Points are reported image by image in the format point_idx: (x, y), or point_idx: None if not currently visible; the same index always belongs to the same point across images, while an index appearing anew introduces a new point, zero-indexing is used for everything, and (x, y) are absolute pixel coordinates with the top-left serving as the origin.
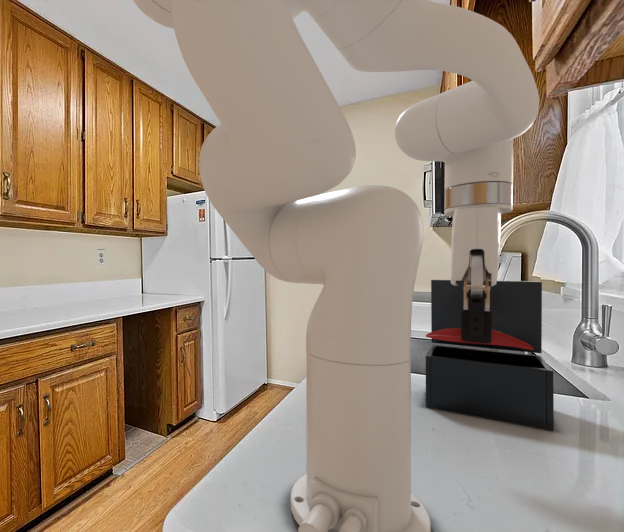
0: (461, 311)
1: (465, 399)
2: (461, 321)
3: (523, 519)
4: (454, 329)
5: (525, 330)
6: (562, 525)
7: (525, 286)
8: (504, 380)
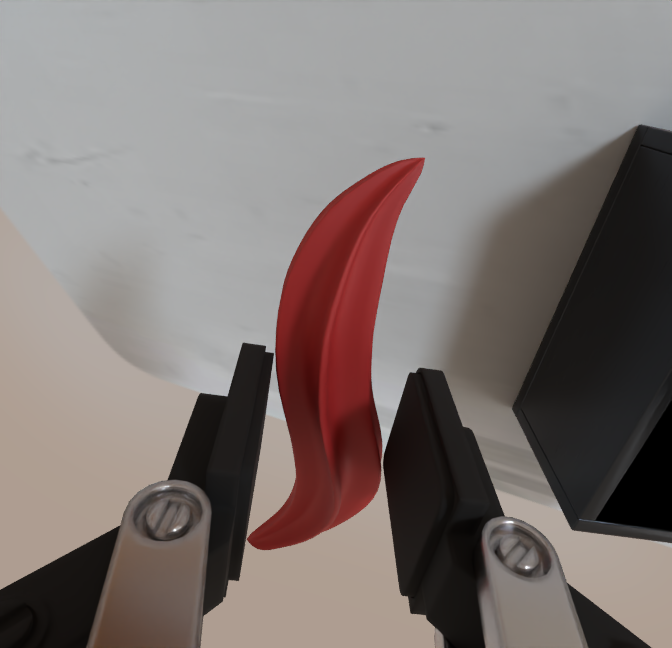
0: (209, 464)
1: (609, 260)
2: (226, 410)
3: (48, 243)
4: (319, 345)
5: None
6: (72, 297)
7: None
8: (602, 399)
